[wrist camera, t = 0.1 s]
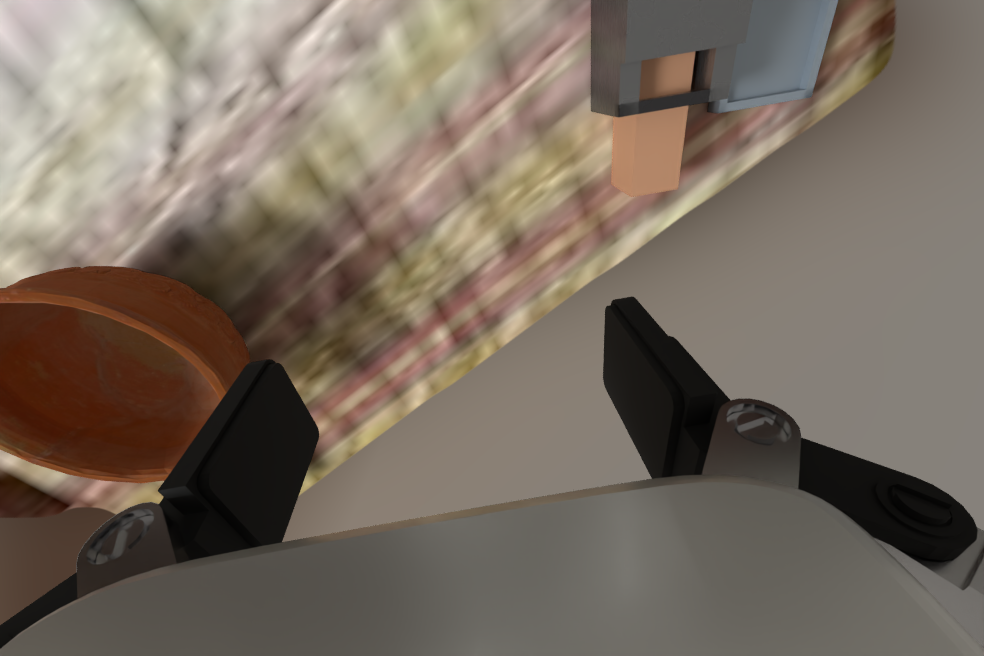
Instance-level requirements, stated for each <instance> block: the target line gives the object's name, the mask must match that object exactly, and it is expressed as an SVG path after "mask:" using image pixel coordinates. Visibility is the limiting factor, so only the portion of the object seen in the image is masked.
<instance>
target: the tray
mask: <svg viewBox="0 0 984 656" xmlns="http://www.w3.org/2000/svg"><path fill="white" fill-rule="evenodd" d="M837 3H838V0H753V4H752V9H751V15H750V20H749V26H748V31H747V37H746V42H745V43H741V44H737V50H736V56H735V61H734V67H733V73H732V79H731V84H730V90H729V96H728V99H723V100H717V101H711V102H709V105H708V111H707V112H712V113H723V112H728V111H734V110H740V109H746V108H751V107H757V106H763V105H769V104H774V103H780V102H786V101H792V100H798V99H803V98H809V97H811V96H812V93H813V89H814V86H815V82H816V78H817V75H818V71H819V68H820V64H821V60H822V57H823V53H824V50H825V46H826V42H827V39H828V35H829V32H830V28H831V25H832V21H833V17H834V14H835V10H836V7H837Z"/></svg>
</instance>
